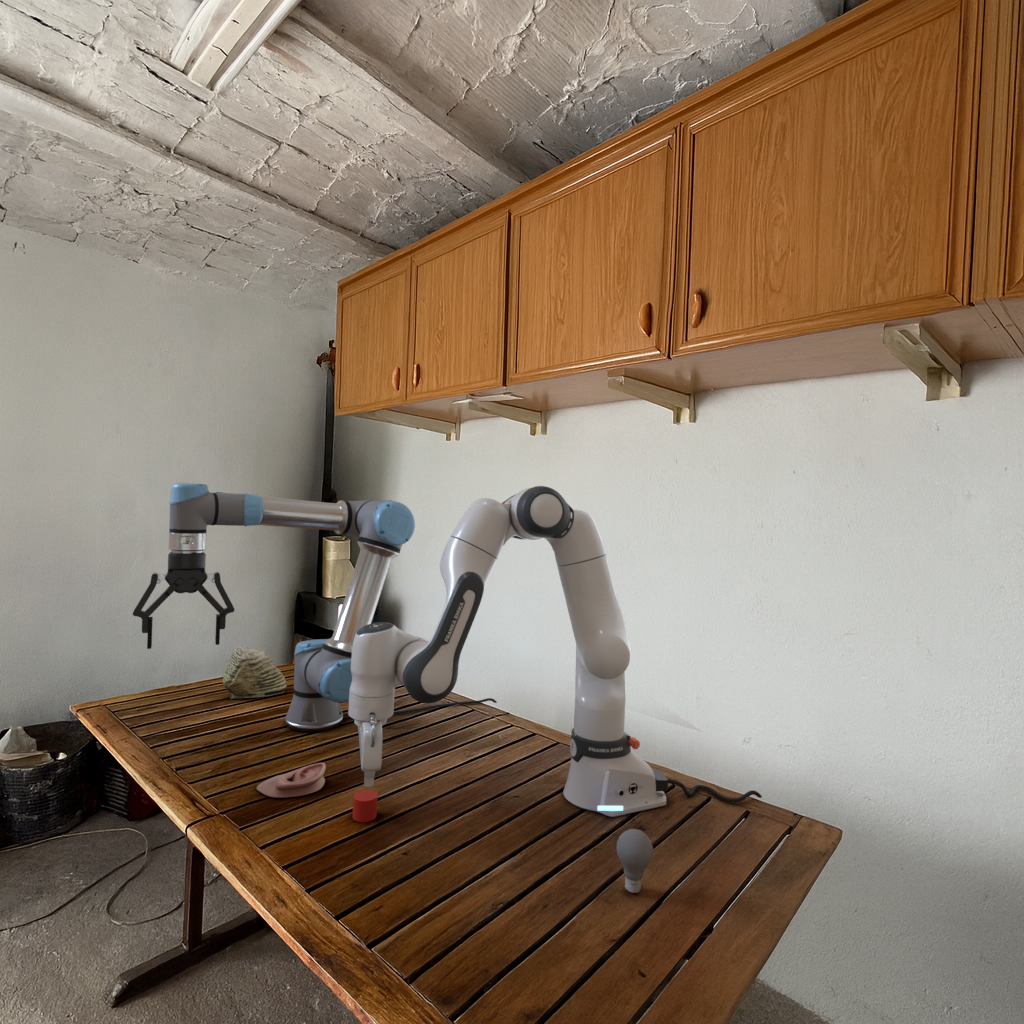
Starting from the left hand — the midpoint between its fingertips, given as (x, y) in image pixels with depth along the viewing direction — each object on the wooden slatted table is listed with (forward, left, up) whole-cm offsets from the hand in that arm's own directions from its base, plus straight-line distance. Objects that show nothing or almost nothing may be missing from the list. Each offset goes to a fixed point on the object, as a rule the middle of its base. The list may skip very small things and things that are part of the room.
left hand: (184, 645), depth 143 cm
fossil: (-39, -38, -28) cm, 62 cm away
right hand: (-15, +47, -20) cm, 53 cm away
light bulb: (-30, +98, -28) cm, 106 cm away
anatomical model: (-12, +25, -28) cm, 40 cm away
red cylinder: (-16, +46, -28) cm, 56 cm away
